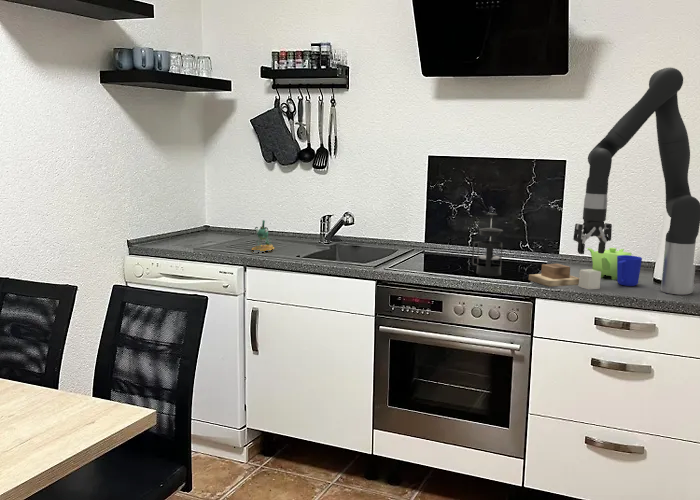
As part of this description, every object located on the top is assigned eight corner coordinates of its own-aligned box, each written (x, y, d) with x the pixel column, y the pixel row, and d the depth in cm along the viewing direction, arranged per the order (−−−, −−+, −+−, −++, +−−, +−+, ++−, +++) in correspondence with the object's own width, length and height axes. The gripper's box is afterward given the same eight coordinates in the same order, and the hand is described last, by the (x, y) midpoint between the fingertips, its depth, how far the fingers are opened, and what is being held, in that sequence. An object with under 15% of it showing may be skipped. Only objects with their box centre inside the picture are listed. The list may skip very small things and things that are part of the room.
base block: (556, 274, 255) (557, 263, 254) (569, 278, 248) (570, 266, 248) (541, 275, 252) (541, 264, 252) (553, 279, 246) (554, 267, 245)
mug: (606, 285, 246) (608, 257, 244) (621, 281, 254) (623, 254, 253) (628, 289, 240) (631, 261, 239) (643, 285, 249) (646, 257, 247)
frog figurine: (283, 249, 313) (282, 217, 309) (263, 259, 297) (261, 225, 293) (265, 247, 317) (263, 215, 313) (244, 257, 301) (242, 224, 297)
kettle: (584, 273, 269) (586, 244, 267) (620, 273, 269) (622, 245, 268) (599, 281, 254) (602, 250, 252) (637, 281, 255) (640, 251, 253)
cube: (589, 285, 246) (591, 269, 245) (599, 288, 241) (601, 271, 240) (578, 286, 244) (579, 269, 243) (588, 289, 239) (589, 272, 239)
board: (560, 277, 259) (560, 272, 258) (581, 284, 248) (582, 278, 247) (528, 279, 254) (528, 274, 253) (549, 286, 243) (549, 281, 242)
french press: (503, 272, 267) (507, 212, 264) (502, 276, 258) (505, 215, 255) (473, 270, 270) (475, 211, 267) (470, 274, 262) (473, 213, 258)
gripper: (585, 208, 232) (581, 256, 235) (619, 207, 237) (615, 254, 240) (571, 205, 239) (567, 252, 242) (604, 205, 244) (599, 251, 247)
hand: (591, 253), depth 241 cm, fingers open, 8 cm apart
